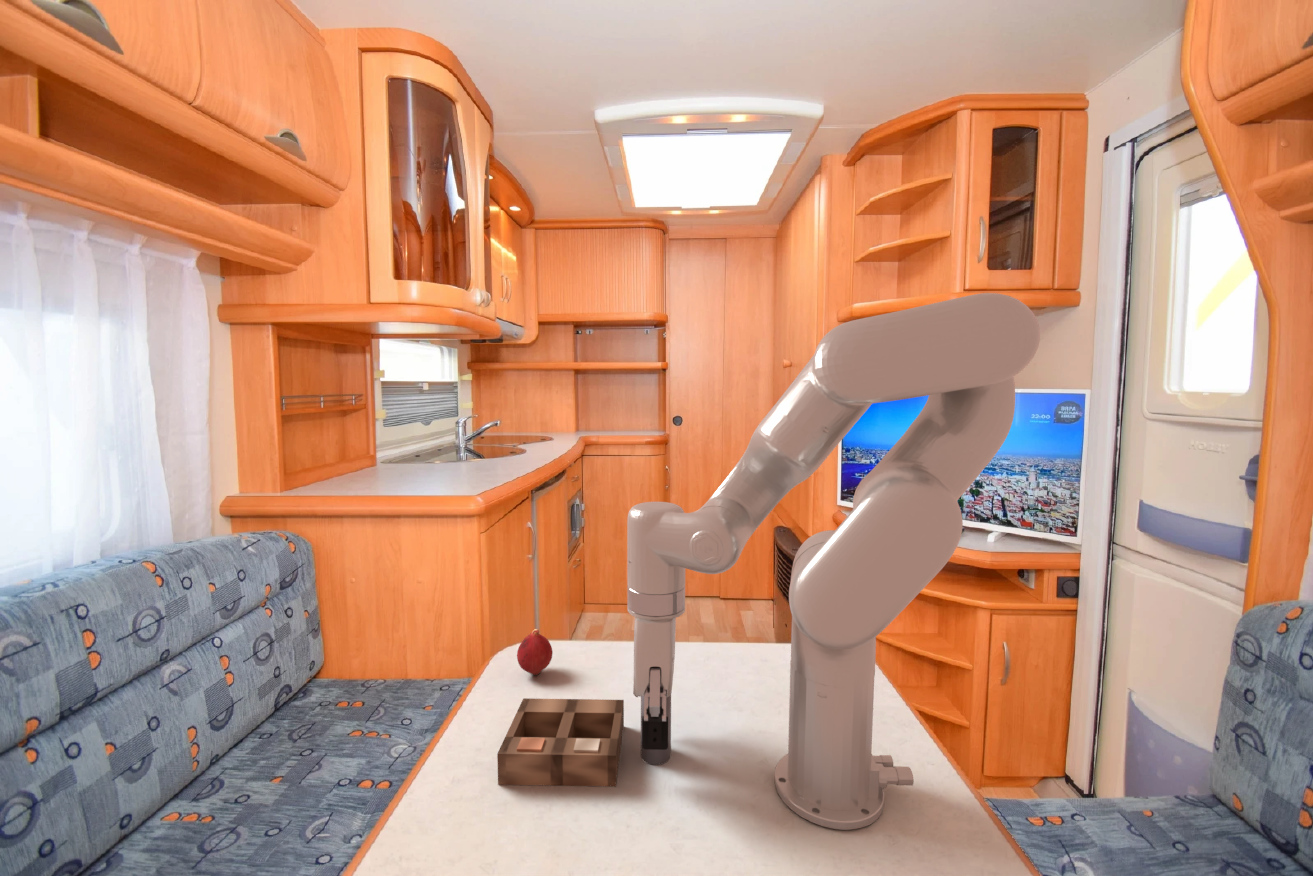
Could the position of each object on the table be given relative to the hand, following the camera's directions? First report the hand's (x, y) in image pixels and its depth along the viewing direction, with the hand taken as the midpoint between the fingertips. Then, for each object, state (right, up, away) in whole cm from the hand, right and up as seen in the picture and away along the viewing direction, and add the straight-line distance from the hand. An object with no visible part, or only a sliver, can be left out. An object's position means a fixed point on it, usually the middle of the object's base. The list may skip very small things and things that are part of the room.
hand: (655, 725), depth 72 cm
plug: (0, -4, 0) cm, 4 cm away
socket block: (-12, -4, +1) cm, 13 cm away
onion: (-21, -2, +21) cm, 29 cm away
